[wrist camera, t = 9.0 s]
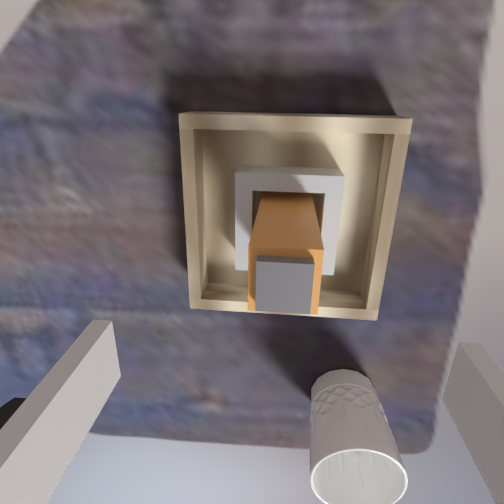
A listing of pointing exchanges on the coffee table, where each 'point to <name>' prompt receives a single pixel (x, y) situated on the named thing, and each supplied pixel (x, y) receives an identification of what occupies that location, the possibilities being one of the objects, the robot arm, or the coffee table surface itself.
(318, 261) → the connector
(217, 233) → the box
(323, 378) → the white cup
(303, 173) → the socket
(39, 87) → the coffee table surface
